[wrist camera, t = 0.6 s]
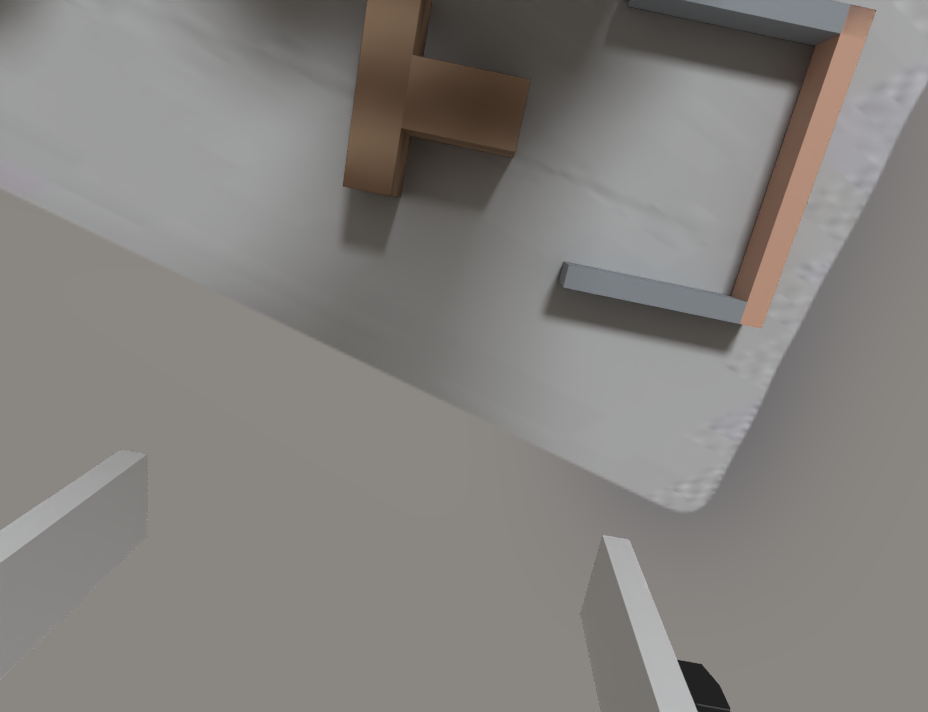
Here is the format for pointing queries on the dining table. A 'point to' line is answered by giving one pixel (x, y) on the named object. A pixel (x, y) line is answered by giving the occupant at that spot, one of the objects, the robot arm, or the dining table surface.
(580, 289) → the push bay
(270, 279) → the dining table surface
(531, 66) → the dining table surface
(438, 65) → the t block
